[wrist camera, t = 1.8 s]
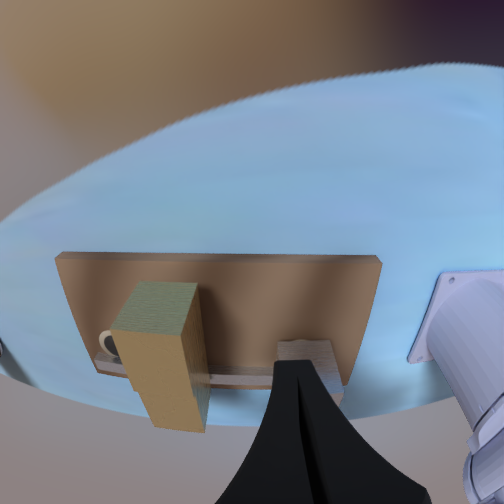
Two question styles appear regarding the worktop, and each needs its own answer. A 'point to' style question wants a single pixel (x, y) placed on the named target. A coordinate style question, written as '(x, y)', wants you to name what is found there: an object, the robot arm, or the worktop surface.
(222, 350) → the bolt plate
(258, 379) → the grey piece
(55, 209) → the worktop surface
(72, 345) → the worktop surface
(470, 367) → the robot arm
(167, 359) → the divider leg
